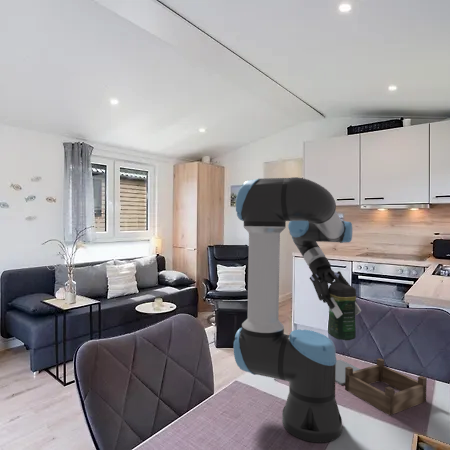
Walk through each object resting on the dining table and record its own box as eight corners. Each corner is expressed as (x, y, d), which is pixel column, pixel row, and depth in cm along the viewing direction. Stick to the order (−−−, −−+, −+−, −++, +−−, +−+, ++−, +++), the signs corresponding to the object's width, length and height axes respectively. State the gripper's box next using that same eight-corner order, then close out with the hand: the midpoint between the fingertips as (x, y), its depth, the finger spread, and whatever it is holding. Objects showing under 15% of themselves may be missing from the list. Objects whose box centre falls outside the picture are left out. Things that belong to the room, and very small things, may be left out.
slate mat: (341, 385, 111) (341, 383, 111) (311, 368, 124) (311, 366, 124) (371, 376, 118) (371, 374, 118) (340, 361, 130) (340, 359, 130)
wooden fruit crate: (389, 415, 94) (390, 390, 94) (345, 389, 109) (345, 367, 108) (426, 401, 102) (426, 378, 101) (379, 378, 116) (380, 358, 116)
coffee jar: (359, 340, 117) (360, 286, 116) (338, 342, 115) (339, 287, 115) (344, 331, 127) (345, 280, 126) (324, 332, 125) (325, 281, 124)
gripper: (332, 266, 139) (364, 316, 125) (290, 269, 129) (320, 324, 115) (342, 254, 134) (377, 305, 120) (300, 257, 124) (332, 312, 111)
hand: (349, 314), depth 118 cm, fingers closed on coffee jar, 8 cm apart
